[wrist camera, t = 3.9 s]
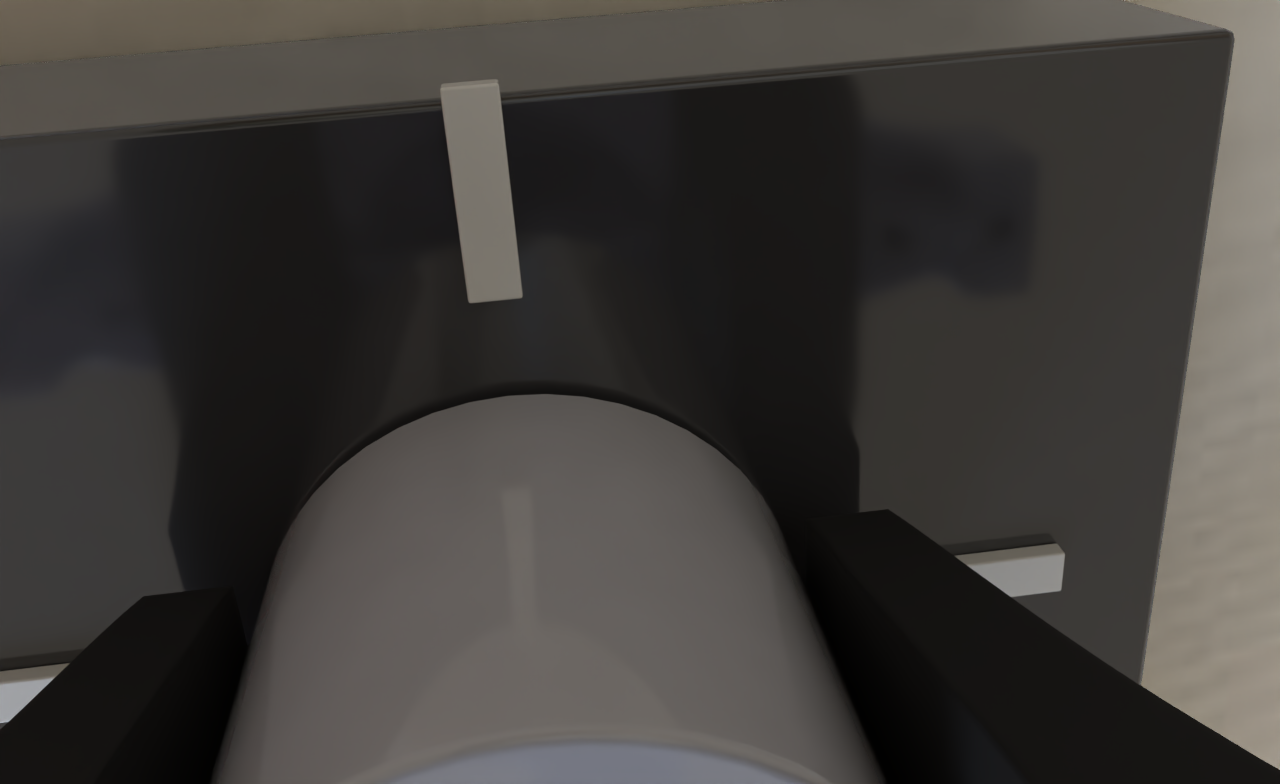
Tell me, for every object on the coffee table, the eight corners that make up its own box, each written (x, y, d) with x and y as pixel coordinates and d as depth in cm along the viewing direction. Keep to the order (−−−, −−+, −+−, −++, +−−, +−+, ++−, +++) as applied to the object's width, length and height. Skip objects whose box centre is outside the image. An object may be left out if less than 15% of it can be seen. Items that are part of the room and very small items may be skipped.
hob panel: (1048, -35, 11) (1256, 17, 8) (989, 706, 14) (1119, 930, 11) (-149, 63, 10) (-408, 162, 7) (109, 822, 13) (8, 1094, 10)
